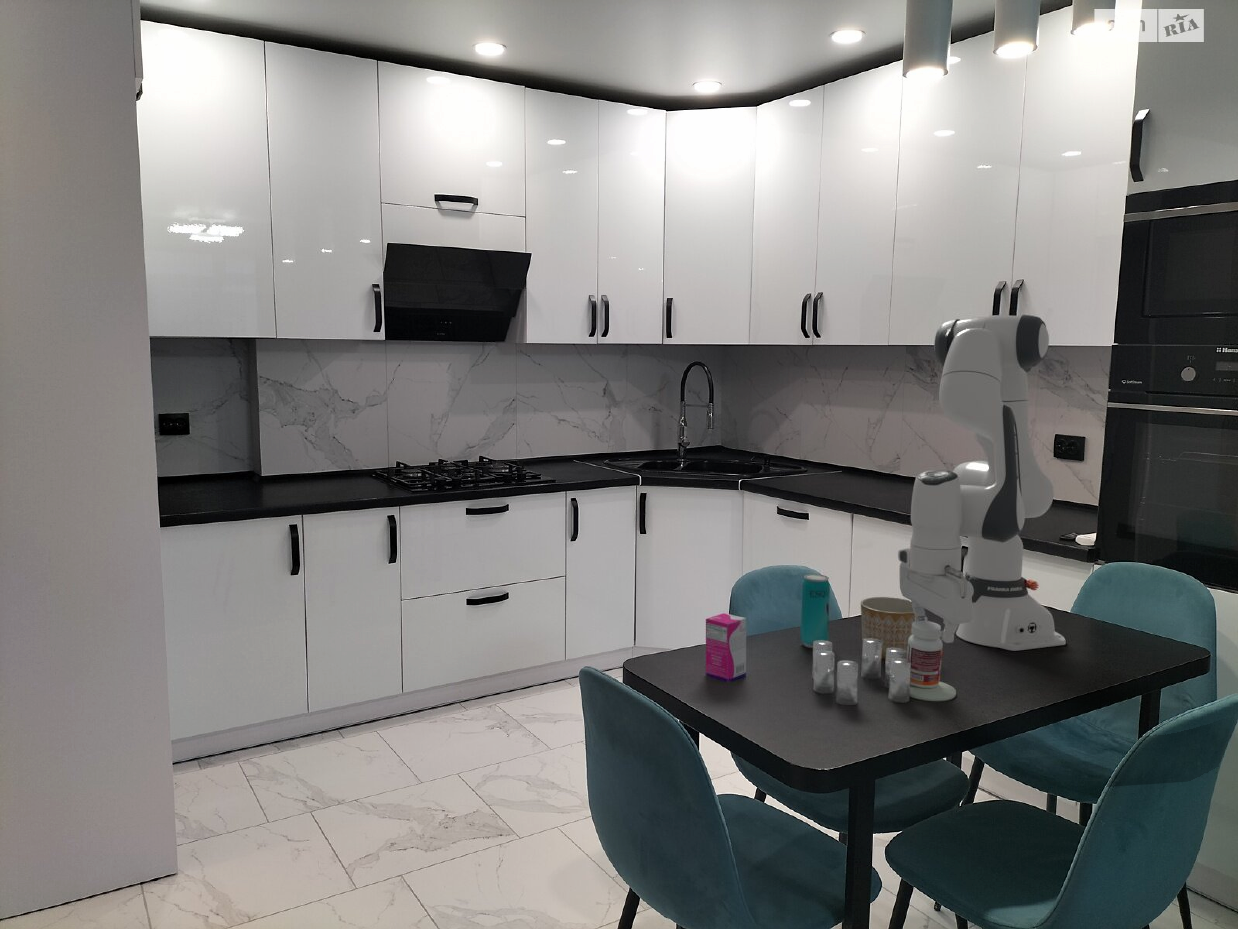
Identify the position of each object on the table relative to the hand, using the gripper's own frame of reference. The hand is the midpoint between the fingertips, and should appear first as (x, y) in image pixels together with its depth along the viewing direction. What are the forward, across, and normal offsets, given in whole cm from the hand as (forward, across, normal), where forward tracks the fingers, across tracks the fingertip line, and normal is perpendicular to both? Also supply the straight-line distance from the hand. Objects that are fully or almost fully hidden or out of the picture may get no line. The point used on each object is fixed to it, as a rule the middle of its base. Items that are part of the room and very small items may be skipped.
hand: (933, 633), depth 167 cm
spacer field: (+10, +3, +13) cm, 17 cm away
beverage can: (+11, +29, +12) cm, 33 cm away
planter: (+12, +22, -2) cm, 25 cm away
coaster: (+11, 0, +1) cm, 11 cm away
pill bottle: (+10, +2, +1) cm, 11 cm away
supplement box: (+10, +13, +36) cm, 40 cm away
